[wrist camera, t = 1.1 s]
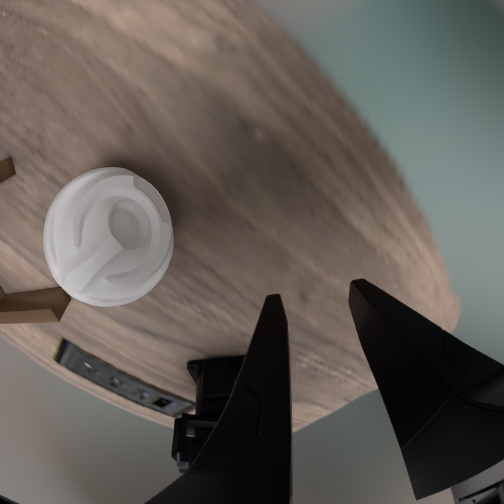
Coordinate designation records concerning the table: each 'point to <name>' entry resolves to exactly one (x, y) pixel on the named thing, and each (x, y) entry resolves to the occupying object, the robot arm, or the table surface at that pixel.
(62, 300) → the carrier cradle
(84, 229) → the white carved ball
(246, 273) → the table surface
